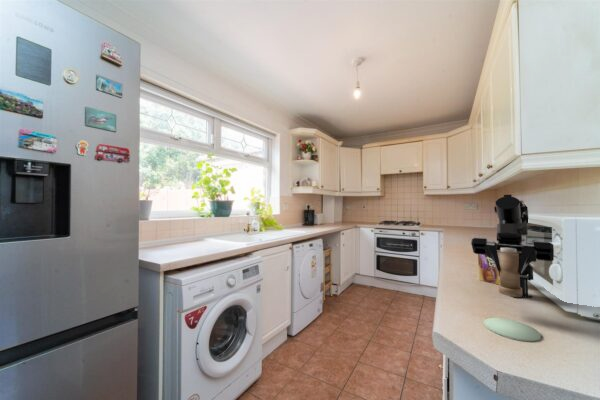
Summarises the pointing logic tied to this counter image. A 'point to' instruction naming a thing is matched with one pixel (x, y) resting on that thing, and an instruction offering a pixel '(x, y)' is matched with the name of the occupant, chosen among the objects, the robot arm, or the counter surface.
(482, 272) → the candy box
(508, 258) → the pepper mill
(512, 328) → the rubber mat
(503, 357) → the counter surface
